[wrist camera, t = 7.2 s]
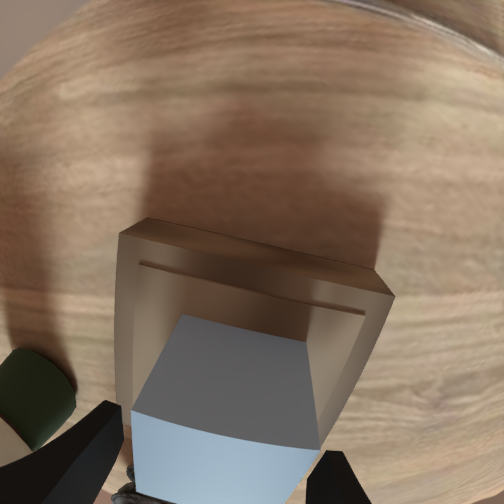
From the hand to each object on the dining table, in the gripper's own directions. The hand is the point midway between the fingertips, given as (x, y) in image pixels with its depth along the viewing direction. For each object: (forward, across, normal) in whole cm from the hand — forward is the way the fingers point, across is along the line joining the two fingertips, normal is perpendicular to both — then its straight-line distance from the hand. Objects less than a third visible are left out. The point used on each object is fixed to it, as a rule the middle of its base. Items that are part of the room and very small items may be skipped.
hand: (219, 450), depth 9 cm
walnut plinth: (+7, 0, 0) cm, 7 cm away
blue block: (+4, 0, 0) cm, 4 cm away
